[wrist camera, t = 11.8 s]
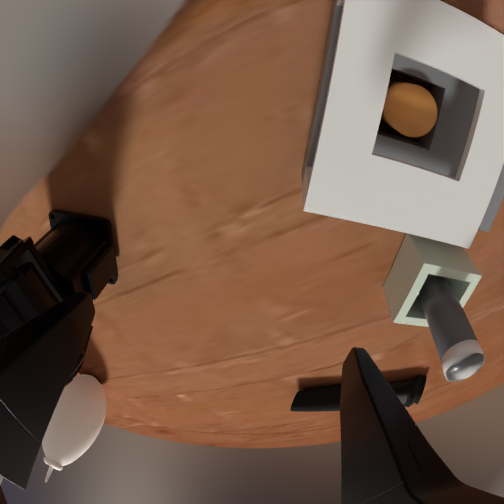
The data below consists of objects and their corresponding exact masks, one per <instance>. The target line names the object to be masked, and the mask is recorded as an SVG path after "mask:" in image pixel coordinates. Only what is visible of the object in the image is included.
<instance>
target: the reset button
mask: <svg viewBox="0 0 504 504" xmlns="http://www.w3.org/2000/svg"><path fill="white" fill-rule="evenodd" d="M381 119H382V120H383V121H384V122H385V123H386V124H388V125H389V126H391V127H392V128H394V129H395V130H397V131H398V132H400V133H401V134H403V135H405V136H408V137H420V136H423V135H425V134H427V133H428V132H429V131H430V130H431V129H432V128H433V126H434V124H435V122H436V119H437V106H436V102H435V100H434V98H433V96H432V95H431V94H430V93H429V92H428V91H427V90H426V89H425V88H423V87H421V86H419V85H416V84H411V83H405V82H400V81H394V82H389V84H388V89H387V94H386V98H385V103H384V107H383V111H382V116H381Z"/></svg>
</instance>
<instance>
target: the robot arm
mask: <svg viewBox="0 0 504 504" xmlns="http://www.w3.org/2000/svg"><path fill="white" fill-rule="evenodd" d="M49 220H50V226H51V229H50V230H49V231H48V232H47V233H46V234H45V235H44V236H43V237H42V238H41V239H40V240H38V241H37V242H36V243H35V244H33V243H34V242H33V240H32V239H31V237H30V236H29V237H28V238H26V239H24V240H21V239H19V238H18V237H16V236H14V235H13V236H11V237H10V238H9V239H7V240H6V241H5V242H4V243H3V244H2V245H1V246H0V484H1V482H2V479H3V477H4V478H5V479H7V480H9V481H10V482H12V483H14V484H15V485H17V486H19V487H20V488H22V489H24V490H25V488H26V486H27V483H28V480H29V477H30V474H31V471H32V468H33V465H34V462H35V460H36V457H37V454H38V451H39V449H40V446H41V443H42V440H43V438H44V435H45V433H46V430H47V427H48V425H49V422H50V420H51V418H52V415H53V413H54V410H55V408H56V406H57V403H58V401H59V399H60V396H61V394H62V392H63V390H64V387H65V386H66V385H68V384H69V383H70V382H72V380H73V378H74V377H75V376H76V375H77V373H78V372H79V370H80V369H81V367H82V364H83V361H84V357H85V353H86V350H87V346H88V342H89V339H90V335H91V332H92V328H93V326H92V325H91V324H92V321H93V319H94V315H95V308H94V304H93V300H95V299H96V298H97V297H98V296H99V294H100V293H101V291H102V290H103V289H104V287H105V286H106V284H107V283H109V284H115V283H116V281H117V279H118V278H117V271H116V270H117V265H116V258H115V250H114V246H113V242H112V233H111V224H110V222H109V220H107V219H106V218H101V217H95V216H89V215H83V214H77V213H71V212H66V211H60V210H52V211H51V212H49ZM103 224H105V226H104V225H103ZM340 422H341V504H504V498H503V497H500V496H497V495H494V494H491V493H488V492H485V491H482V490H479V489H477V488H474V487H471V486H468V485H466V484H464V483H463V482H461V481H460V480H459V479H457V478H456V477H455V476H454V474H453V473H452V472H451V471H450V469H449V468H448V467H447V466H446V465H445V463H444V462H443V461H442V459H441V458H440V457H439V456H438V454H437V453H436V452H435V451H434V449H433V448H432V447H431V445H430V444H429V443H428V441H427V440H426V438H425V437H424V435H423V434H422V433H421V431H420V430H419V428H418V426H417V425H415V422H414V420H413V419H412V417H411V416H410V414H409V413H408V411H407V410H406V408H405V407H404V405H403V404H402V402H401V401H400V399H399V398H398V396H397V395H396V394H395V392H394V391H393V389H392V388H391V386H390V385H389V383H388V382H387V380H386V379H385V377H384V376H383V374H382V373H381V372H380V370H379V369H378V367H377V366H376V364H375V363H374V361H373V360H372V358H371V357H370V356H369V354H368V353H367V351H366V350H365V349H363V348H357V347H354V348H352V349H351V351H350V352H349V354H348V356H347V358H346V359H345V361H344V363H343V368H342V385H341V399H340ZM0 504H7V502H6V499H5V497H4V494H3V491H2V488H1V485H0Z"/></svg>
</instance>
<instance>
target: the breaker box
mask: <svg viewBox="0 0 504 504" xmlns="http://www.w3.org/2000/svg"><path fill="white" fill-rule="evenodd" d="M391 71H394V72H397V73H400V74H403V75H406V76H409V77H411V78H414V79H417V80H419V81H422V82H425V83H427V84H430V85H432V88H431V93H430V94H431V95H432V96H433V98H434V100H435V102H436V106H437V119H436V122H435V124H434V126H433V128H432V129H431V130H430V131H429V132H428V133H427V134H425V135H423V136H420V137H419V140H418V142H415V141H412V140H409V139H406V138H403V137H400V136H397V135H393V134H390V133H386V132H383V131H380V130H378V128H379V124H380V120H381V116H382V111H383V107H384V103H385V98H386V94H387V89H388V84H389V79H390V75H391ZM302 191H303V211H306V212H311V213H316V214H321V215H326V216H331V217H336V218H341V219H345V220H350V221H355V222H359V223H364V224H369V225H373V226H378V227H382V228H387V229H391V230H395V231H400V232H404V233H408V234H412V235H416V236H421V237H425V238H429V239H433V240H437V241H441V242H445V243H449V244H453V245H457V246H460V247H464V248H468V249H469V248H470V245H471V243H472V241H473V239H474V237H475V235H476V233H477V230H481V231H485V232H489V230H490V228H491V225H492V223H493V221H494V219H495V216H496V214H497V212H498V209H499V207H500V204H501V202H502V199H503V197H504V35H503V34H501V33H500V32H498V31H496V30H495V29H493V28H491V27H490V26H488V25H486V24H485V23H483V22H481V21H479V20H478V19H476V18H474V17H472V16H470V15H468V14H466V13H465V12H463V11H461V10H459V9H457V8H455V7H453V6H451V5H449V4H446V3H444V2H442V1H440V0H334V2H333V8H332V14H331V21H330V27H329V33H328V38H327V44H326V50H325V56H324V61H323V67H322V73H321V78H320V83H319V89H318V94H317V99H316V105H315V110H314V115H313V120H312V125H311V130H310V135H309V140H308V145H307V150H306V155H305V160H304V165H303V170H302Z"/></svg>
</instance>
